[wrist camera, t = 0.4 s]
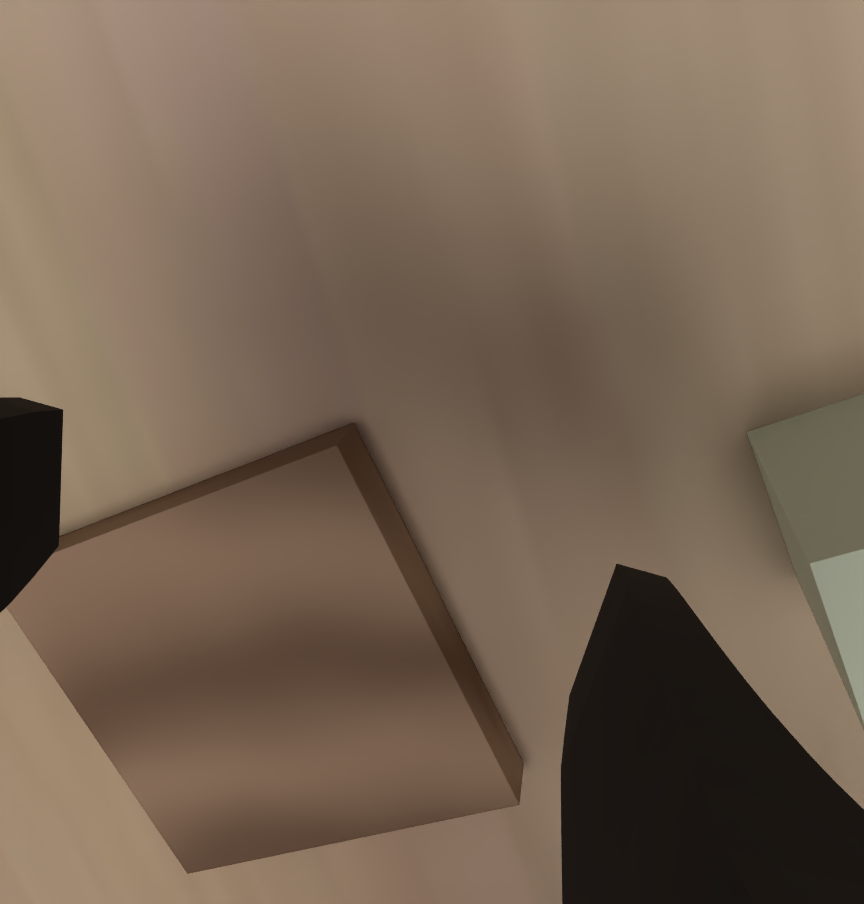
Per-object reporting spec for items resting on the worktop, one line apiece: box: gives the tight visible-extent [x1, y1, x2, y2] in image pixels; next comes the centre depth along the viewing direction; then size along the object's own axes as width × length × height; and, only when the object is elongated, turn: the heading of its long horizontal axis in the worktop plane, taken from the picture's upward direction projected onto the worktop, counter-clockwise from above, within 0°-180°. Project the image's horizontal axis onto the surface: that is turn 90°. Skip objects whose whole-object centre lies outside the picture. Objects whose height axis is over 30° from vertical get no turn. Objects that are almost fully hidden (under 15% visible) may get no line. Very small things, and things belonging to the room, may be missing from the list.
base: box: [7, 423, 524, 874], centre depth 23 cm, size 11×11×2 cm
